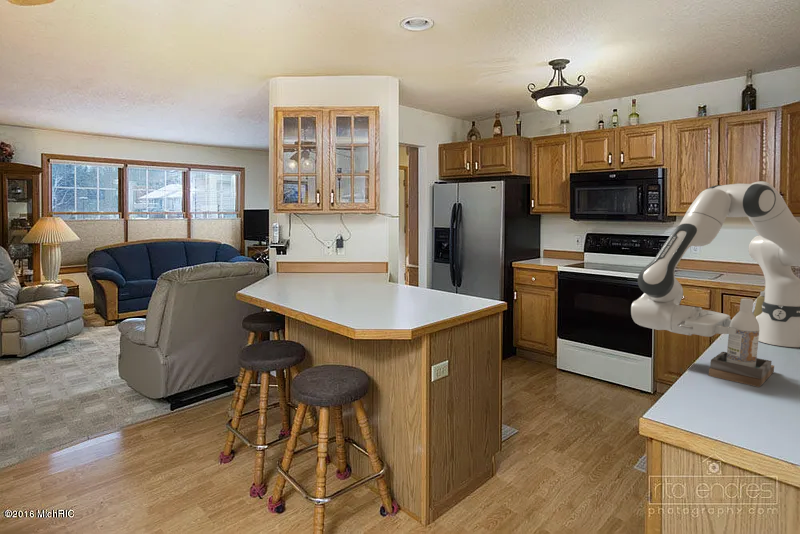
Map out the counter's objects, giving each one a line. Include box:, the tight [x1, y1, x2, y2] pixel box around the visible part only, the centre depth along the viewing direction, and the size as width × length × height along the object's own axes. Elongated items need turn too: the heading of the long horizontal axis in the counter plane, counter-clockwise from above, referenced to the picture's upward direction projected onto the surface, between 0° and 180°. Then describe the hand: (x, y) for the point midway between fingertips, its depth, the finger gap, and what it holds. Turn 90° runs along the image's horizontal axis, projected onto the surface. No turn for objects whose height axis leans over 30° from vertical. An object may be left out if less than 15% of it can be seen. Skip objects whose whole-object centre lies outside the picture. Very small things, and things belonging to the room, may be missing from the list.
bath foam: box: [726, 297, 759, 368], centre depth 137 cm, size 7×7×20 cm
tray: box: [708, 351, 775, 388], centre depth 139 cm, size 18×12×4 cm, turn 132°
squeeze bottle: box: [753, 288, 765, 317], centre depth 196 cm, size 8×8×18 cm
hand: (740, 328), depth 137 cm, fingers open, 8 cm apart
